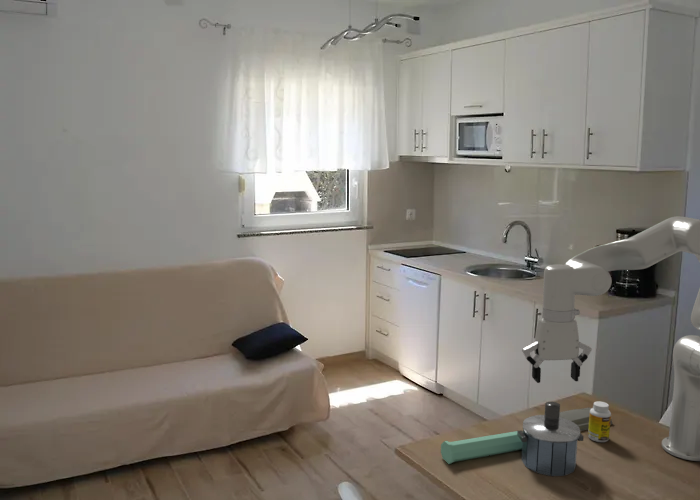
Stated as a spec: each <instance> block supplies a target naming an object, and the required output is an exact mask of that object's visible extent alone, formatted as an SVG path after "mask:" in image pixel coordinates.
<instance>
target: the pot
mask: <svg viewBox="0 0 700 500" xmlns="http://www.w3.org/2000/svg"><path fill="white" fill-rule="evenodd" d="M516 431H517V435H518V437H519V438H520V440H521V441H522V442H523V444H522V450H521V462H522V464H523V465H524V466H525V467H526V468H527V469H529V470H531V471H533V472H534V473H536V474H540V475H544V476H548V477H564V476H567V475H570V474H573V473H574V472H575V470H576V465H577V453H578V452H577V451H578V442H583V441H584V438H585V437H584V435H583V434H582V433H581V432H580V436H579V438H578V439H577V440H575V441H572V442H567V443H552V442H546V441H542V440H538V439H536V438H533V437H531V436H530V435H528V434H527V433H526V432H525V431H524V430H523V429H522V430H516Z"/></svg>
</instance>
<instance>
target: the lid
mask: <svg viewBox="0 0 700 500" xmlns="http://www.w3.org/2000/svg"><path fill="white" fill-rule="evenodd" d="M544 404H545V405H544V414H536V415H532V416H528V417H526V418H525V419H524V420H523V422H522V431H523V430H524V431H525V432H526V433H527V434H528V435H530V436H531V437H533V438H536V439H538V440H542V441H546V442H552V443H567V442H572V441H575V440H577V439H578V438H579V436H580V433H581V431H580V428H579V427H578V426H577V425H576V424H575V423H573V422H572V421H570V420H567V419H564V418H561V417H559V415H560V412H561V404H560V403H559V402H555V401H546V402H545V403H544ZM577 441H578V440H577Z"/></svg>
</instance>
